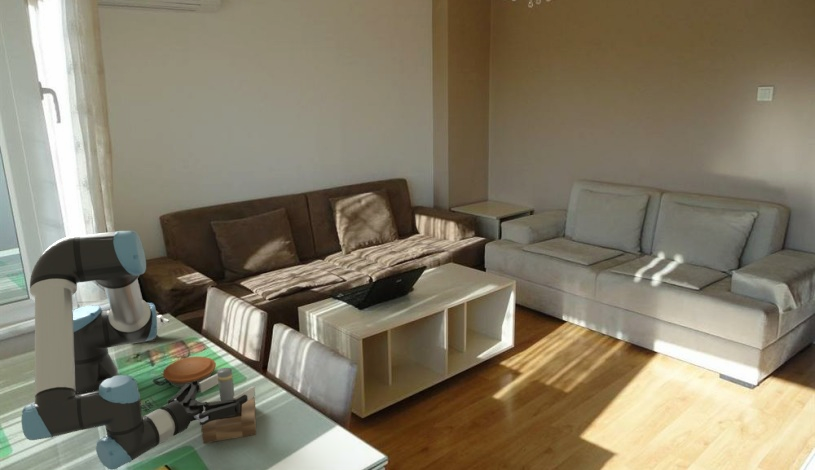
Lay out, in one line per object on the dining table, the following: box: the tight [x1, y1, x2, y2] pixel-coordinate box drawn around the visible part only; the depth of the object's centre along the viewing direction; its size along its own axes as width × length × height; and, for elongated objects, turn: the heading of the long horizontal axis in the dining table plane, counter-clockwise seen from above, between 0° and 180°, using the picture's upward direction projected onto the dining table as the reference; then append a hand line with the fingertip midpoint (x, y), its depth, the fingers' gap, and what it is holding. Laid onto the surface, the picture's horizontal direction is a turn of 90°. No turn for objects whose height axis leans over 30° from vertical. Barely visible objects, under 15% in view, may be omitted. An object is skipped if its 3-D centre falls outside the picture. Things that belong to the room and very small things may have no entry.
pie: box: [162, 356, 217, 389], centre depth 179 cm, size 16×16×5 cm
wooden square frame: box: [201, 396, 257, 444], centre depth 154 cm, size 13×13×4 cm
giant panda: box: [147, 312, 170, 343], centre depth 207 cm, size 15×6×10 cm, turn 97°
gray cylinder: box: [216, 367, 237, 419], centre depth 153 cm, size 4×4×16 cm
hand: (236, 383), depth 155 cm, fingers open, 13 cm apart
